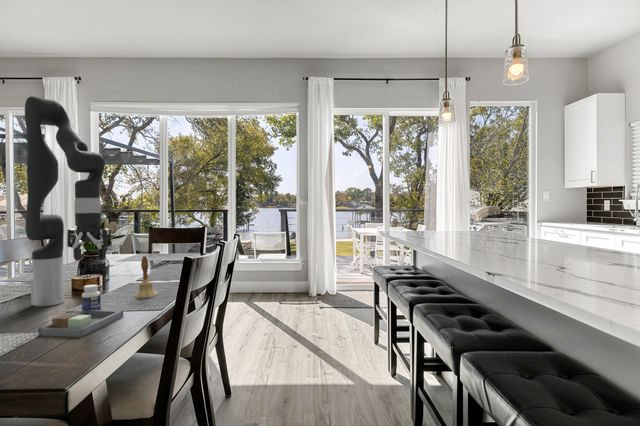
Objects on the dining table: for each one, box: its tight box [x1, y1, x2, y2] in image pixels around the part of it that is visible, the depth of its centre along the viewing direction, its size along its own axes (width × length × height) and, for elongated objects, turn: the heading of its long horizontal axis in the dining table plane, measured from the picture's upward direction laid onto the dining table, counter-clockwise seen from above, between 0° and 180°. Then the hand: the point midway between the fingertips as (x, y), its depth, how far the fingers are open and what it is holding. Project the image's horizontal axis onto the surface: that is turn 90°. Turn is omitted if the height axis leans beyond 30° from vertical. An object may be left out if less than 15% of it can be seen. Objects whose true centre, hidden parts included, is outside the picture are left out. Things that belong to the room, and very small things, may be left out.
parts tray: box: [37, 309, 124, 338], centre depth 112 cm, size 13×18×2 cm
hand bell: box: [134, 255, 158, 299], centre depth 149 cm, size 8×8×16 cm
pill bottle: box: [81, 284, 102, 312], centre depth 125 cm, size 5×5×10 cm
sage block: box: [68, 315, 91, 329], centre depth 108 cm, size 4×4×4 cm
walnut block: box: [51, 313, 76, 328], centre depth 108 cm, size 4×4×4 cm
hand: (89, 260), depth 125 cm, fingers open, 8 cm apart
